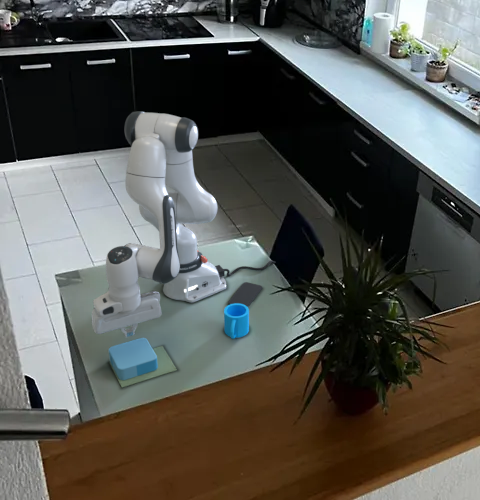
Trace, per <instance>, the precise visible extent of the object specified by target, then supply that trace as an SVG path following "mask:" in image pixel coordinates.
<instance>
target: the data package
mask: <svg viewBox="0 0 480 500" xmlns="http://www.w3.org/2000/svg"><path fill="white" fill-rule="evenodd" d="M108 356H109V361H110V362H111V364H112V366H113V368H114V370H115V372H116V374H117V376H118V378H119V379H120V380H127V379H130V378H133V377H136V376H139V375H142V374H145V373H149V372H152V371H155V370H156V369H157V368H158V364H157V356H156V354H155V352H154V351H153V347H152V346H151V344H150V342H149V340H148V339H147V338H146V337H139V338H136V339H133V340H129V341H126V342H122V343H119V344H115V345H112V346H110V347H109V348H108Z"/></svg>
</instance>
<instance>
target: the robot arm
mask: <svg viewBox="0 0 480 500" xmlns="http://www.w3.org/2000/svg"><path fill="white" fill-rule="evenodd" d="M123 131H124V136H125V140H126V141H127V142H128V144H129V145H130V151H129V154H128V159H127V163H126V172H125V190H126V193H127V195H128V196H129V197H130V198H131V200H132V201H133V202H135V203H136V204H137V205H138V210H139V213H140V215H141V217H142V219H143V220H144V221H145V222H147V223H149V224H151V225H152V227H154V228H155V229H156V230H157V231H158V234H159V248H158V247H152V246H148V245H144V244H139V243H132V242H129V243H126V244H125V245H119V246H115V247H112V248H111V249H110V250H109V251H108V252H107V254H106V259H105V276H106V282H107V284H108V291H106V292H105V293H103V294H101V295H99V296H98V297H95V298H94V299H92V304H93V309H92V311H91V326H92V329H93V332H94V333H95V334H97V335H102V334H105V333H109V332H112V331H115V330H120V331H121V332H122V333H123V336H124V338H129V337H132V336H134V335H136V332H135V331H136V330H137V328H138V326H139V325H138V324H141V323H144V322H147V321H152V320H155V319H159V318H161V316H162V307H161V304H160V301H161V294H160V292H159V291H155V290H151V291H148V292H143V293H141V287H140V285H139V278H141V279H147V280H151V281H154V282H157V283H160V284H162V285H163V287H162V293H163V294H164V295H165V296H166V297H168V298H169V299H172V300H176V301H184V302H187V303H190V304H191V303H196V302H198V301H201V300H202V299H203V300H204V299H205V298H208V297H210V296H212V295H215V294H217V293H219V292H222V291H225V290H226V289H227V281H226V279H225V278H224V277H225V275H226V276H227V277H231V276H232V275H234V274H235V273H237V272H238V271H239V270H244V269H246V270H252V271H262V270H263V271H264V270H265V269H267V267H268V266H270V265H271V264H276V261H274V260H269V261H268V262H267V263H266V264H265V265H264V266H262V267H252V266H246V265H244V266H238V267H237V268H235V269H234V270H233V271H232V272H231V271H230V270H229V268H223V267H222V266H221V265H220V264H218V265H214V264H213V263H212V262H210V261H208V258H207V257H206V256H205V255H204V254H203V253H202V252H200V251H199V250H198V238H197V236H196V234H195V233H194V232H193V231H192V230H191V228H188V227H186V226H184V225H201V224H207V223H211V222H212V221H213V220H214V219H215V218H216V216H217V213H218V202H217V200H216V198H215V197H214V195H212V193H210V192H208V191H207V190H206V189H204V188H203V187H202V186H201V185H200V183H199V182H198V180H197V177H196V174H195V170H194V160H193V159H194V158H193V150H194V149H195V148H196V146H197V143H198V139H199V128H198V125H197V124H196V122H195V121H194V120H192V119H190V118H188V117H185V116H184V117H180V116H177V115H173V114H169V113H160V112H159V113H158V112H145V111H142V110H141V111H132V112H131V113H129V115H128V116H127V117H126V119H125V122H124V130H123ZM167 187H168V188H169V189H172V190H167ZM225 272H226V274H225ZM127 327H129V328H127Z"/></svg>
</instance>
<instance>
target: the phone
mask: <svg viewBox="0 0 480 500" xmlns="http://www.w3.org/2000/svg"><path fill="white" fill-rule="evenodd" d="M262 290H263V286H262V285H260V284H256V283H252V282H247V281H246V282H243V283H242V284H241V285H240V287H239V288H238V289H237V290H236V292H235V293H234V294H233V296H231V298H230V299H229V300H228V304H227V305H230V304H234V303H240V304H244V305H246V306H247V307H248V308H249V306H250V305H251V304H252V302H253V301H254V300H255V299H256V298H257V296H258V295H259V293H260V292H261V291H262Z"/></svg>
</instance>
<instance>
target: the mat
mask: <svg viewBox="0 0 480 500" xmlns="http://www.w3.org/2000/svg"><path fill="white" fill-rule="evenodd" d="M152 349H153V351H154V352H155V354H156V356H157V364H158V368H157V369H156V370H155V371H152V372H149V373H145V374H142V375H139V376H136V377H133V378H130V379H127V380H120V379H119V378H118V376H117V374H116V372H115V370H114V368H113V366H112V364H111V362H110V360H109V361H108V364H109V365H110V367H111V369H112V371H113V373H114V375H115V378H116V379H117V381H118V383H119V385H120V387H121V388H122V389H123V388H126V387H130V386H132V385H135V384H138V383H141V382H142V383H143V382H144V381H148V380H151V379H155V378H157V377H161V376H164V375H166V374H170V373H172V372H173V373H174V372H175V371H177V370H178V369H177V367H176V366H175V364H174V362H173V360H172V359H171V357H170V356H169V354H168V352H167V351H166V349H165V348H164V346H163V345H160V346H157V347H152Z"/></svg>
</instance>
